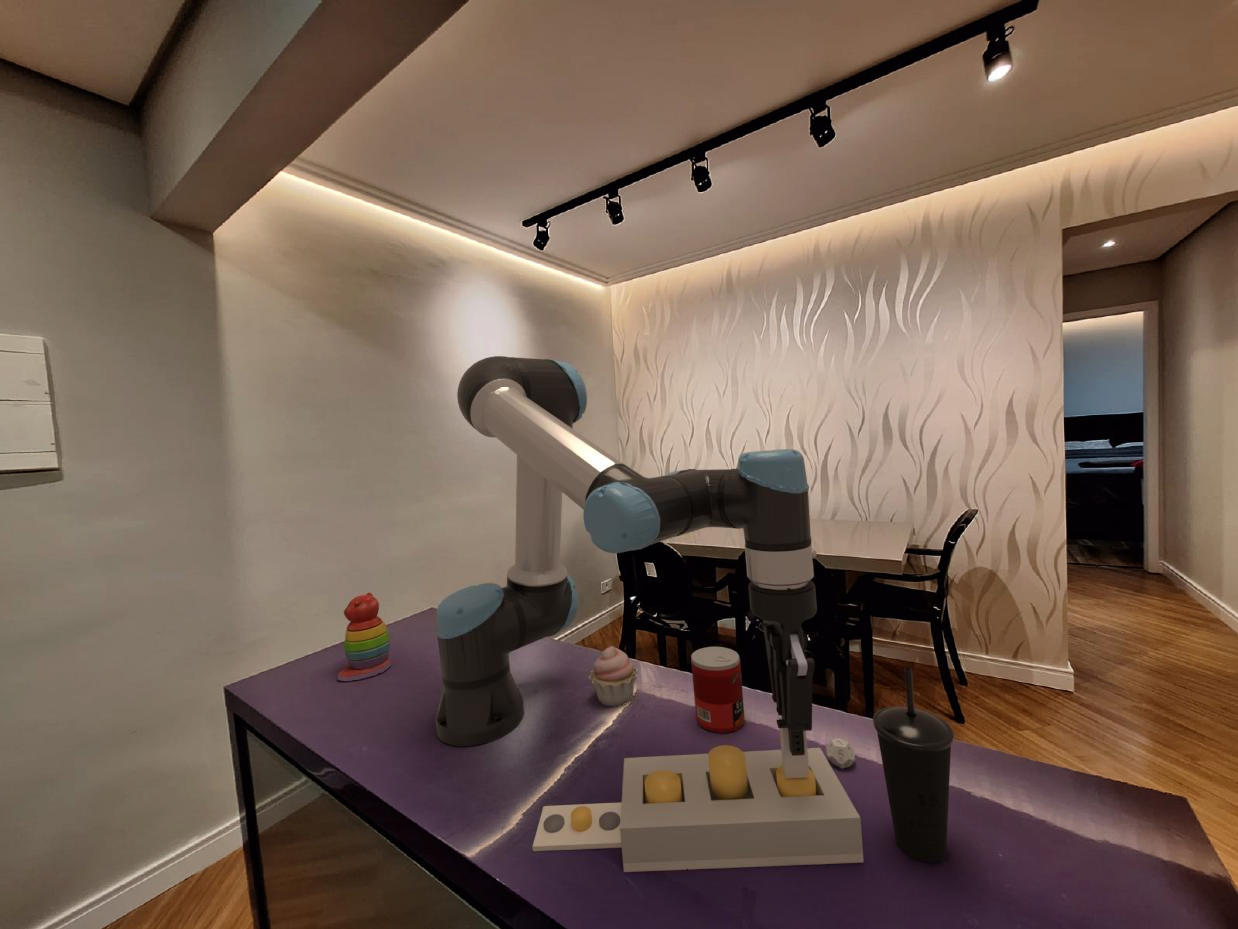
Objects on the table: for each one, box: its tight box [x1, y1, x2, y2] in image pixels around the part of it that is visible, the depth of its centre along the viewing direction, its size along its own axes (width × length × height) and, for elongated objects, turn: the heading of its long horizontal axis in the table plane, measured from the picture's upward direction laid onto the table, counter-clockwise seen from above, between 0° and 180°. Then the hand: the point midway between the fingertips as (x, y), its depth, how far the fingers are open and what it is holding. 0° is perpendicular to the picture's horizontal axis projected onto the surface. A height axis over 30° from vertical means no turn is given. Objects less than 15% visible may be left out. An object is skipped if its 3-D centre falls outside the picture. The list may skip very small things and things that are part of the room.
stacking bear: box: [337, 592, 391, 677], centre depth 113 cm, size 11×10×18 cm
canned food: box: [690, 646, 745, 734], centre depth 81 cm, size 8×8×11 cm
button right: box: [776, 765, 816, 797], centre depth 58 cm, size 4×4×4 cm
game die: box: [826, 737, 856, 769], centre depth 68 cm, size 4×4×3 cm
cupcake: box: [588, 645, 639, 707], centre depth 91 cm, size 9×9×10 cm
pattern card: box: [532, 801, 622, 852], centre depth 61 cm, size 11×6×2 cm, turn 87°
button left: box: [645, 770, 682, 804], centre depth 59 cm, size 4×4×4 cm
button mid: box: [707, 744, 748, 800], centre depth 59 cm, size 4×4×4 cm
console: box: [620, 747, 865, 873], centre depth 59 cm, size 26×12×5 cm, turn 87°
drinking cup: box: [872, 666, 955, 864], centre depth 54 cm, size 8×8×20 cm
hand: (795, 773), depth 58 cm, fingers closed
